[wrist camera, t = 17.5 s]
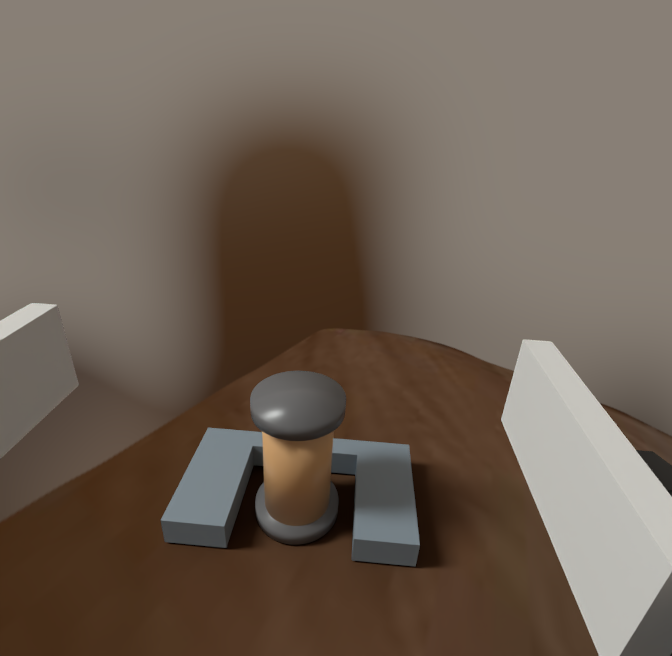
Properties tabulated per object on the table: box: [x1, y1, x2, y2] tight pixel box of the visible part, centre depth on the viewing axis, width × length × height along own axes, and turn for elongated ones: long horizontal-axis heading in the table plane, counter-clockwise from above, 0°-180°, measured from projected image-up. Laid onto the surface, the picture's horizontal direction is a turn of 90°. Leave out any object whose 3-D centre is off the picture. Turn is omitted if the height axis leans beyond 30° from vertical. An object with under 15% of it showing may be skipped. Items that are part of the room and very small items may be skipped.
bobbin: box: [250, 371, 346, 545], centre depth 36 cm, size 7×7×12 cm
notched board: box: [161, 428, 420, 567], centre depth 39 cm, size 20×11×2 cm, turn 86°
